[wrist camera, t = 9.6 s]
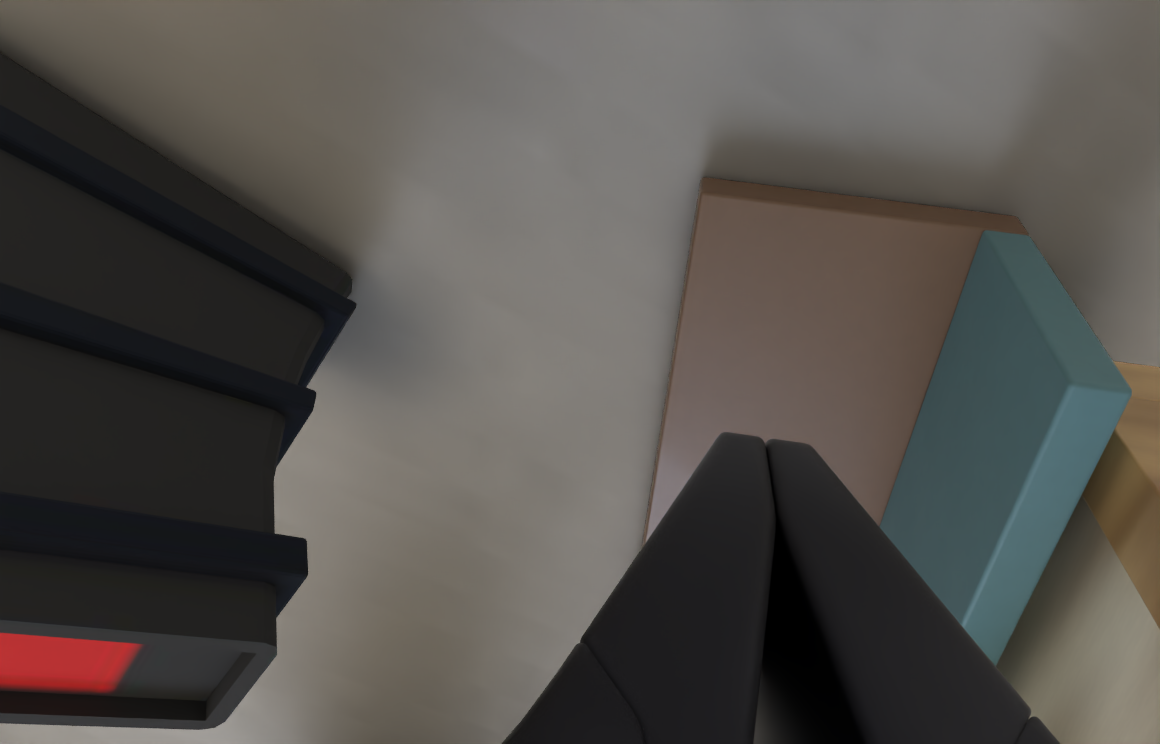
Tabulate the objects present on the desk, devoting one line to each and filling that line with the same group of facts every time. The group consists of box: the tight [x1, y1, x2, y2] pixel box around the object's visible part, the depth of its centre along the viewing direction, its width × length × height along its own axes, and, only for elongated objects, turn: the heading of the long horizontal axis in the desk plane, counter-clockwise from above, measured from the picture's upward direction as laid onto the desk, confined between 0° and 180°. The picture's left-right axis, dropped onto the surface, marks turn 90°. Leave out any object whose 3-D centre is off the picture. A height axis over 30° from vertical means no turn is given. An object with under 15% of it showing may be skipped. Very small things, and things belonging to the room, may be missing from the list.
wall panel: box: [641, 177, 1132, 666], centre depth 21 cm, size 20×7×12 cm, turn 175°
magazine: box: [0, 53, 356, 730], centre depth 18 cm, size 4×13×15 cm, turn 56°
